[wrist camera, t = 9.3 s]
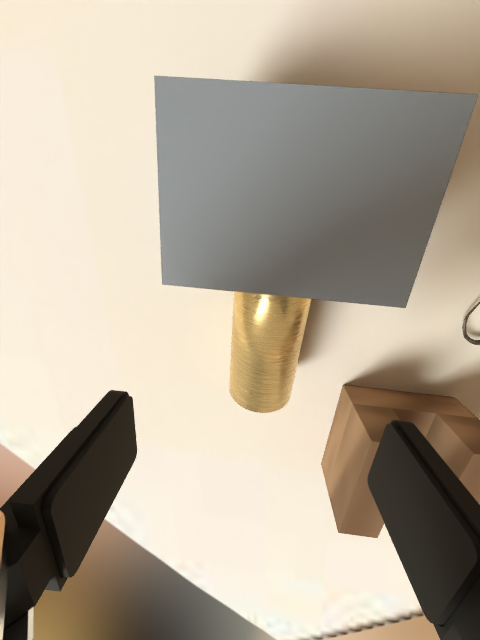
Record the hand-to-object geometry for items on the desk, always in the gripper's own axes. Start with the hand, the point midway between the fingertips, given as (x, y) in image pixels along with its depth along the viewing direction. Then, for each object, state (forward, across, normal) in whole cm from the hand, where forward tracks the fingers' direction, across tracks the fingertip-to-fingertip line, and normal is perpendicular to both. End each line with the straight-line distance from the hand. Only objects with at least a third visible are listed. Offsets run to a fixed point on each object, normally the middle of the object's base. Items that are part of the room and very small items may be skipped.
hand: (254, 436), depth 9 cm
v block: (+8, -11, +7) cm, 15 cm away
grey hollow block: (+8, -1, -8) cm, 12 cm away
